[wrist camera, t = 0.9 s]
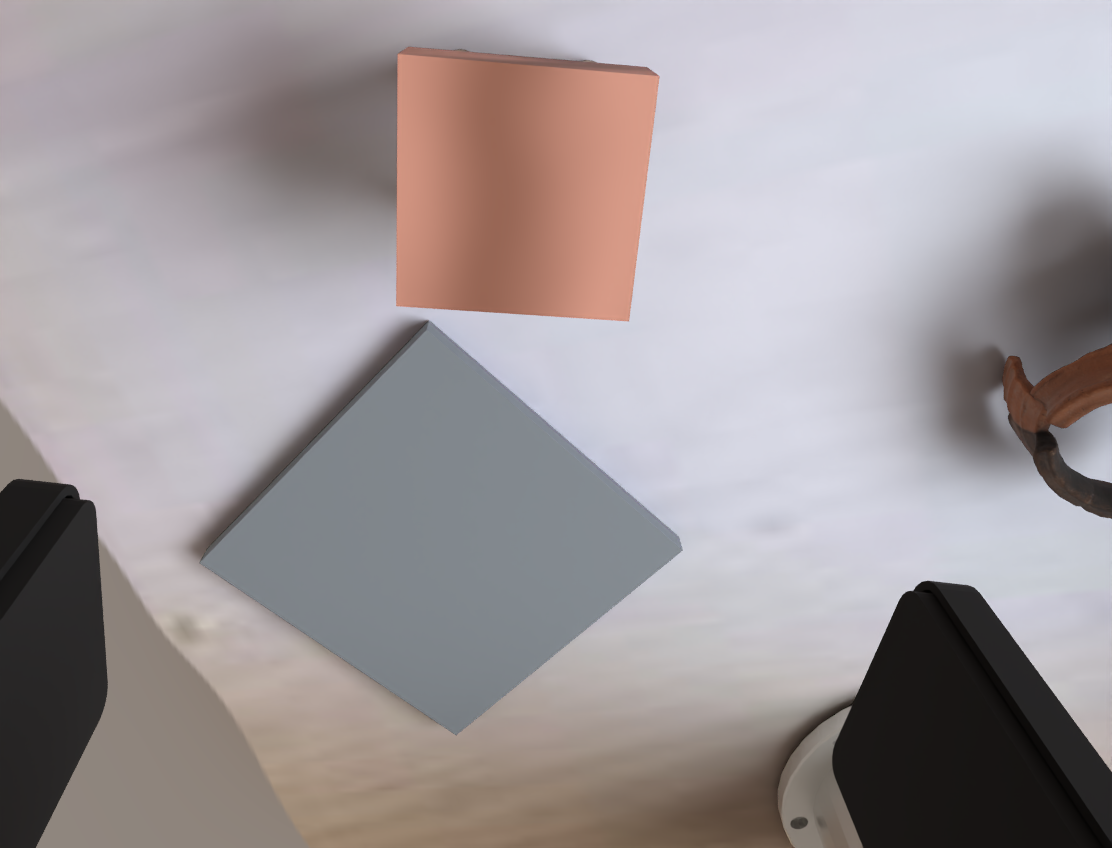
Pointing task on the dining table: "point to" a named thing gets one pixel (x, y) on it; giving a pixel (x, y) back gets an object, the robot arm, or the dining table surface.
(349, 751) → the dining table surface
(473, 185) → the stool
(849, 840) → the robot arm
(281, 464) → the dining table surface
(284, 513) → the slate mat
